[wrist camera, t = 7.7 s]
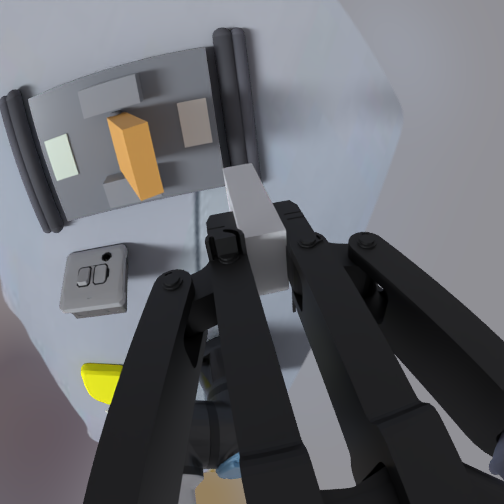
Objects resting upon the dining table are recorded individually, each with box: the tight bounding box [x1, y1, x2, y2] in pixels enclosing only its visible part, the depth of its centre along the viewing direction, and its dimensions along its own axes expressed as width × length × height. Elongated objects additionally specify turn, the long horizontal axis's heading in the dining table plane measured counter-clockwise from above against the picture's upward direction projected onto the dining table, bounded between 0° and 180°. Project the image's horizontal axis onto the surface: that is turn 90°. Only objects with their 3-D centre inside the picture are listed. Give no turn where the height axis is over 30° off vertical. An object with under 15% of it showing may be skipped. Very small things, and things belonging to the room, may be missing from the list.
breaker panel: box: [28, 47, 225, 221], centre depth 31 cm, size 16×20×5 cm
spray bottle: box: [81, 363, 123, 413], centre depth 62 cm, size 3×11×24 cm
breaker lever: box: [107, 110, 164, 201], centre depth 27 cm, size 7×2×11 cm, turn 6°
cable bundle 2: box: [213, 28, 261, 180], centre depth 34 cm, size 20×3×2 cm, turn 6°
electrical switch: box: [59, 244, 128, 318], centre depth 40 cm, size 9×5×9 cm, turn 94°
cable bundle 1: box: [0, 90, 63, 233], centre depth 32 cm, size 20×3×2 cm, turn 6°
